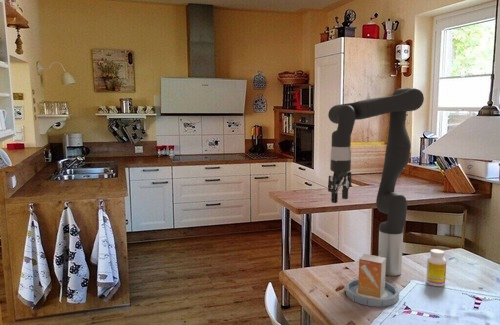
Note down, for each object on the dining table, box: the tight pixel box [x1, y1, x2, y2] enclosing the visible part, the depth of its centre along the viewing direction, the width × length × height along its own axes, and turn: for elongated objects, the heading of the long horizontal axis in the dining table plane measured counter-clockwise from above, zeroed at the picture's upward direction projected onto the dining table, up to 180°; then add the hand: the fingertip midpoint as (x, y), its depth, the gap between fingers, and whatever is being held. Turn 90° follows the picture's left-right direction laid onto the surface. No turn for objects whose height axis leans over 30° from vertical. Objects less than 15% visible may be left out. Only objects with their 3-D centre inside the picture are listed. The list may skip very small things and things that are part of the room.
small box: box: [357, 253, 386, 298], centre depth 146 cm, size 8×6×13 cm
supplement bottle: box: [425, 248, 447, 287], centre depth 156 cm, size 7×7×13 cm
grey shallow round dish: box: [345, 278, 400, 308], centre depth 147 cm, size 18×18×2 cm
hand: (339, 200), depth 155 cm, fingers open, 8 cm apart
